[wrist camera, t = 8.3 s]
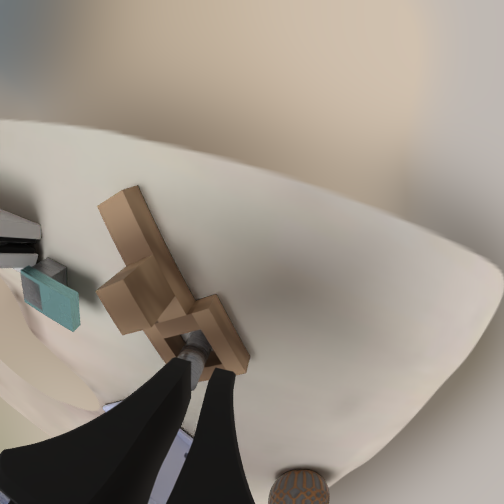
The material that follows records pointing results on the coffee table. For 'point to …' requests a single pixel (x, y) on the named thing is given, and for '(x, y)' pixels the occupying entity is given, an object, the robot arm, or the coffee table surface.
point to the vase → (299, 488)
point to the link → (161, 291)
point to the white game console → (17, 241)
